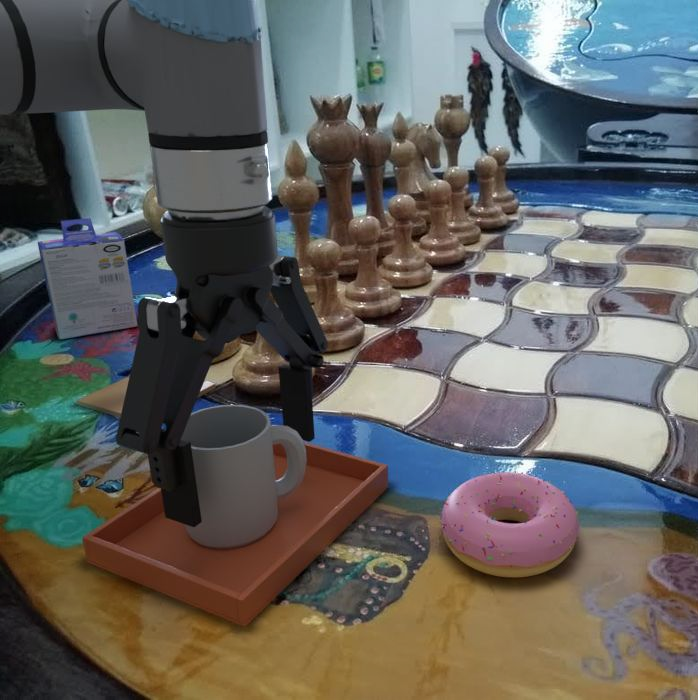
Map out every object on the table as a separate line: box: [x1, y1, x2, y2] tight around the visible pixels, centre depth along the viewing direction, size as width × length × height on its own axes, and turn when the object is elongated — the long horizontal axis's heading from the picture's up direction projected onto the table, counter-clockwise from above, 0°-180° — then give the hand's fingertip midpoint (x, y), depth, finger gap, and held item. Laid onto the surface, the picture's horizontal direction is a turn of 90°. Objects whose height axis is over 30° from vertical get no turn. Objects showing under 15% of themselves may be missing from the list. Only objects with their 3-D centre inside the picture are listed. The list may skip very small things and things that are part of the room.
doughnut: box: [438, 470, 580, 578], centre depth 58 cm, size 11×11×4 cm
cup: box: [181, 404, 307, 549], centre depth 58 cm, size 7×10×9 cm
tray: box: [81, 441, 389, 628], centre depth 60 cm, size 15×19×2 cm
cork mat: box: [76, 375, 217, 419], centre depth 80 cm, size 10×10×1 cm
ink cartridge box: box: [37, 217, 139, 340], centre depth 96 cm, size 10×6×14 cm, turn 124°
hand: (247, 474), depth 58 cm, fingers open, 13 cm apart
